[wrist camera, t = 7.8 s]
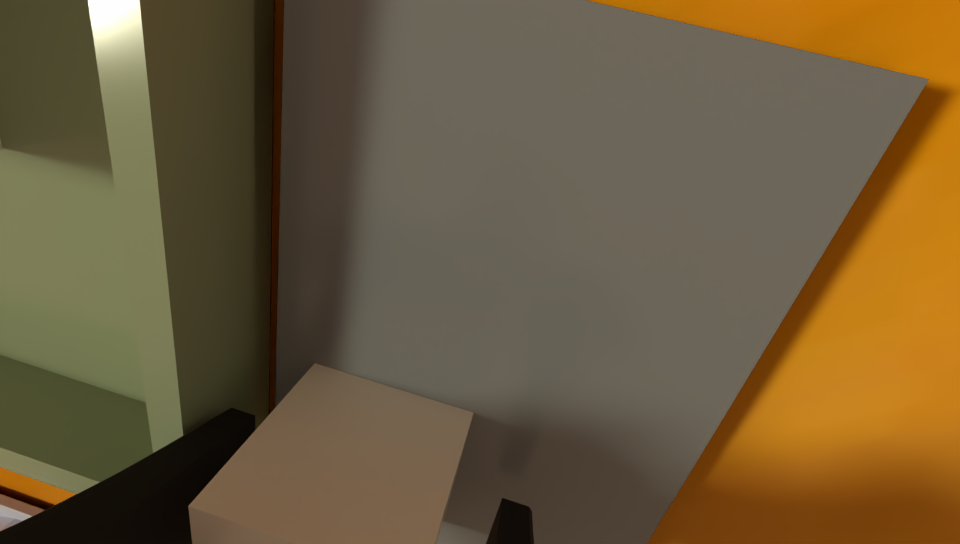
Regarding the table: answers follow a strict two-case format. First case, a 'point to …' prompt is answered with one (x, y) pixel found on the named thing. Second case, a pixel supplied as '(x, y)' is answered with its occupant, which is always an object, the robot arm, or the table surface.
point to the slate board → (558, 231)
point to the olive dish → (131, 227)
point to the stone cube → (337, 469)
